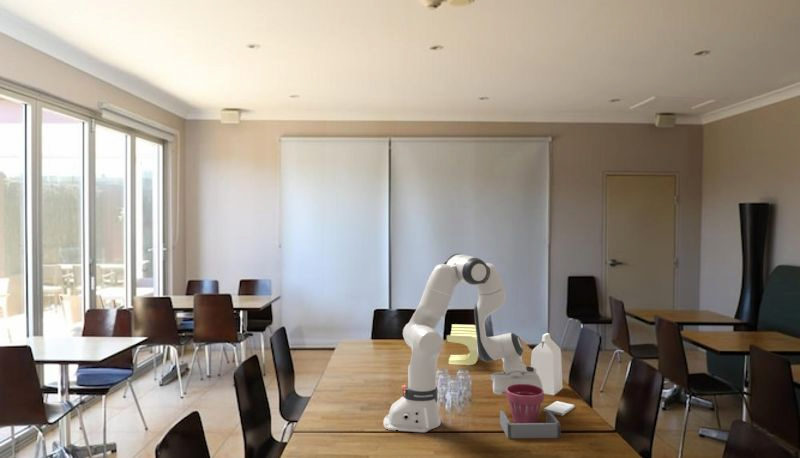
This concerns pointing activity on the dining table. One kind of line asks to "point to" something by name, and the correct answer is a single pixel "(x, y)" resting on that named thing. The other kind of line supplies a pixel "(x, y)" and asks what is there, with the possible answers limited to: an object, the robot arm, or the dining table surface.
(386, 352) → the dining table surface
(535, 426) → the frame
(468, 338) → the slatted curved stool
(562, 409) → the external hard drive
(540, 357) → the milk
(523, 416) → the plant pot
